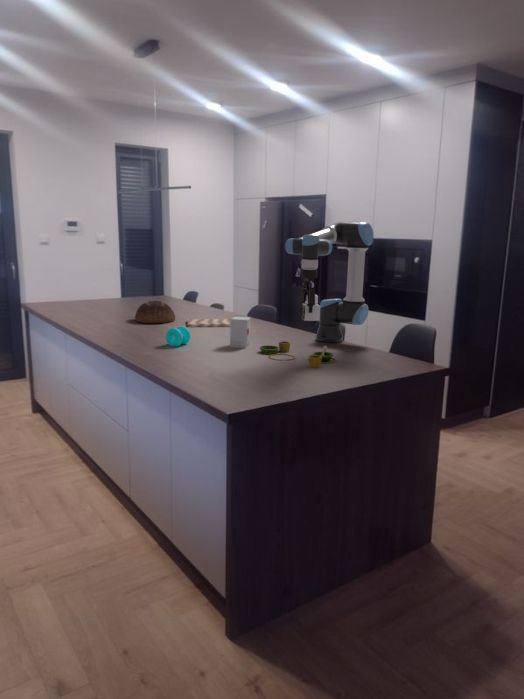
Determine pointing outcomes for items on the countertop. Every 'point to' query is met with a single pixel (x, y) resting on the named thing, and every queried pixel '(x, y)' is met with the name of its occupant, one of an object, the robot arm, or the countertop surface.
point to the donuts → (177, 336)
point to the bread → (154, 313)
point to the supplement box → (240, 332)
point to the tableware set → (284, 346)
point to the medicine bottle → (315, 310)
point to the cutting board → (208, 322)
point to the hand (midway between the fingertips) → (307, 318)
